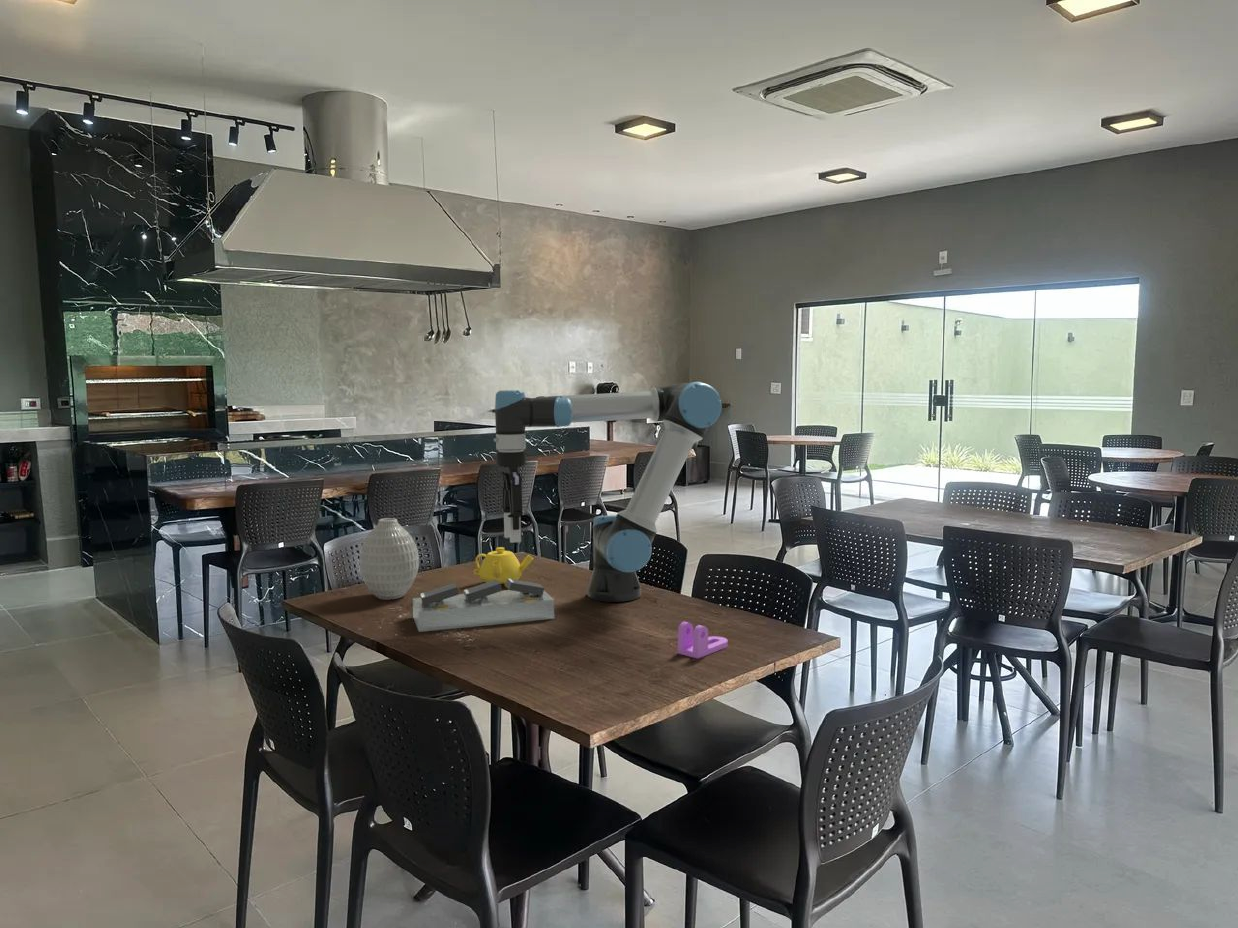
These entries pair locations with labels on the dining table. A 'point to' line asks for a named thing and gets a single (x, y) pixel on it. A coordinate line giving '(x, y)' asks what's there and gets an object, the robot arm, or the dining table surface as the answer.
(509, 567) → the teapot
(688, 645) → the bracket
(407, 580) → the vase
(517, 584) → the switch
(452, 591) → the switch
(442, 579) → the dining table surface
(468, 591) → the switch
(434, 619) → the console
